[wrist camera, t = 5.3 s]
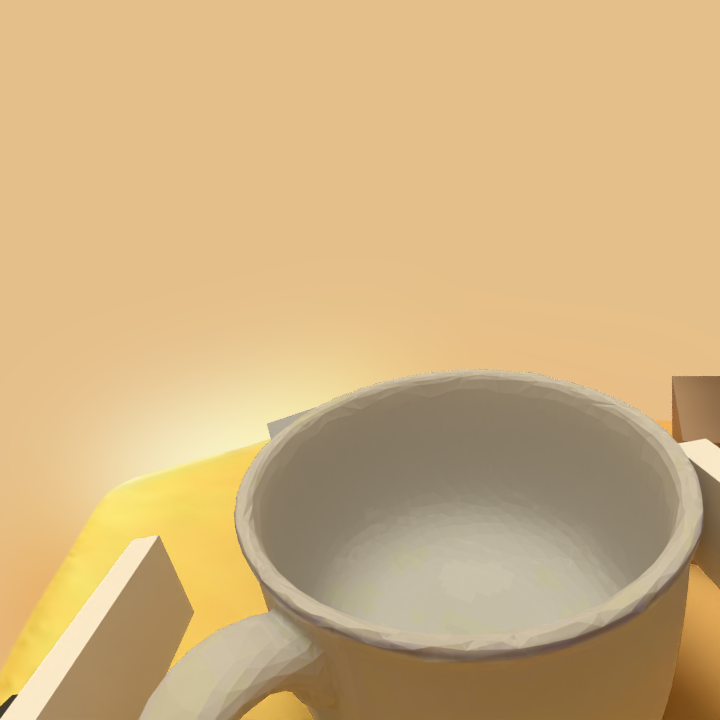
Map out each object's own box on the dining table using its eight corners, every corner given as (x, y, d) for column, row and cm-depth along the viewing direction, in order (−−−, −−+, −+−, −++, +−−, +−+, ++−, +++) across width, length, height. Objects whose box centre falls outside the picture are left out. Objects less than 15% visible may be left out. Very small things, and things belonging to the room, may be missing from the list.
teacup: (465, 503, 21) (435, 346, 18) (767, 660, 12) (787, 397, 10) (171, 731, 14) (61, 529, 12) (369, 1490, 5) (78, 1313, 3)
